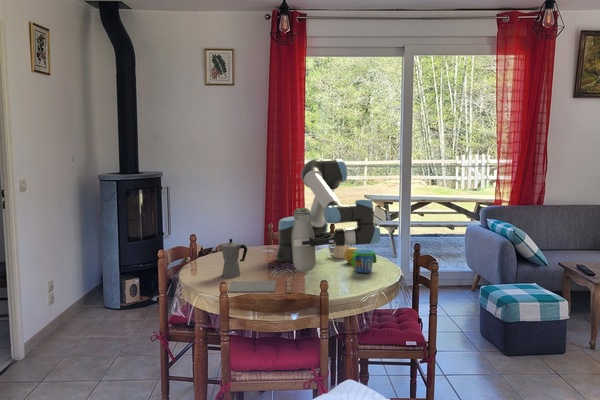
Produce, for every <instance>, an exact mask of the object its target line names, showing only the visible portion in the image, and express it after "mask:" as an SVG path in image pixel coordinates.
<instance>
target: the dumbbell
mask: <svg viewBox="0 0 600 400" xmlns="http://www.w3.org/2000/svg"><path fill="white" fill-rule="evenodd" d="M355 250H359V249H358V248H357V247H353V246H351V247H349V248H347V250H346V251H345V253H344V257H345V258H344V259H345V261H346V262H347V263H348V264H351V259H352V256H353V251H355Z"/></svg>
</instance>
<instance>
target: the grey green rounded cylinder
mask: <svg viewBox="0 0 600 400" xmlns="http://www.w3.org/2000/svg"><path fill="white" fill-rule="evenodd" d="M293 217H294V224H293V229H292V235H291V239H292V253H293V262H292V263H293V267H294V268H295V270H297V272H301V273H307V272H310V271H312V270H313V269H314V268H315V266H316V263H317V262H316V261H317V260H316V259H317V257H316V246H314V247H312V246H310V245H309V246H294V240H299V239H309V238H312V239H315V235H314V231H313V227H312V224H311V219H310V217H311V214H310V209H308V208H307V207H298V208H296V209H294V211H293ZM309 241H310V240H309Z"/></svg>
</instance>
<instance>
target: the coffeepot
mask: <svg viewBox="0 0 600 400" xmlns="http://www.w3.org/2000/svg"><path fill="white" fill-rule="evenodd" d="M228 240H229V242H225V243H220V244H218V246H219V247H220V249H221V251H222V258H223V267H222V275H221V276H222V277H223V276H225V277H224V278H227V277H233V278H237V277H236V276H238V277H240V276H241V275H240V274H241V273H242V271H241V268H240V262H245V260H246V255H247V252H248V247H247V246H246V244H240V243H238V242H237V243H236V242H233V238H229V239H228ZM242 249H243V252H242V257H241V258H240V259H239V257H240V250H242ZM239 261H240V262H239Z"/></svg>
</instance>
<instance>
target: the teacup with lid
mask: <svg viewBox="0 0 600 400" xmlns="http://www.w3.org/2000/svg"><path fill="white" fill-rule="evenodd" d="M332 246H333V251H332V250H331V247H332ZM347 248H350V245H346V244H345V245H344V246H336V244H335V242H334V244H328V251H329V252H330V253H331V254H333V256H334V258H336V259H345V257H344V253H345V251H346V250H347Z"/></svg>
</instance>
